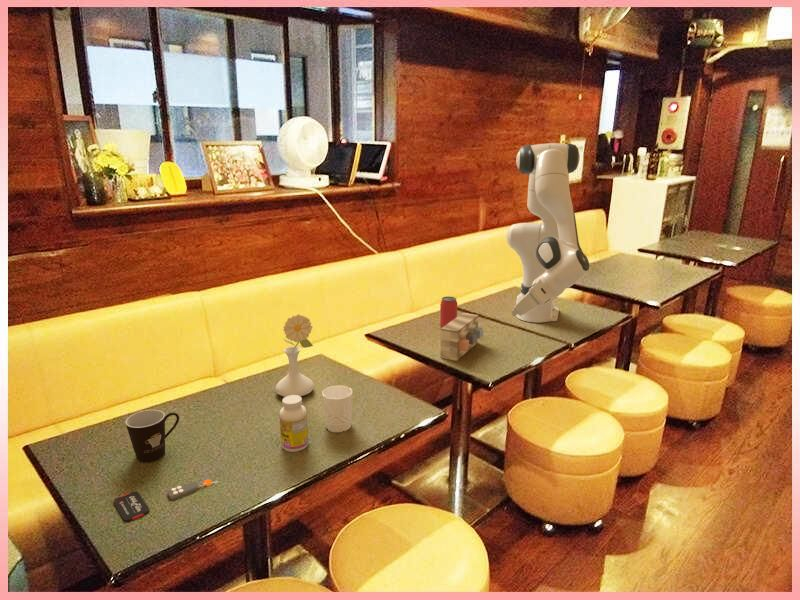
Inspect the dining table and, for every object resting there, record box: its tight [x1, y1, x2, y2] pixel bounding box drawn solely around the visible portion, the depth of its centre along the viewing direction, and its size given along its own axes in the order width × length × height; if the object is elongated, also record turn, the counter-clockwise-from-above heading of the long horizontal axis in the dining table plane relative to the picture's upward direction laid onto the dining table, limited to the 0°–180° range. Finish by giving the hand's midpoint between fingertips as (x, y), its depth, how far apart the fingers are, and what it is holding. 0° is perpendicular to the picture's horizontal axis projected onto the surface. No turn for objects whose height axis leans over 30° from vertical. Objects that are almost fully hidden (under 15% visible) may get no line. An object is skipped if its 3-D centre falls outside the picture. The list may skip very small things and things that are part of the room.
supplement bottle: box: [278, 395, 309, 453], centre depth 138 cm, size 7×7×13 cm
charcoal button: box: [466, 333, 476, 345], centre depth 195 cm, size 3×3×3 cm
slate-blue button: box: [473, 326, 484, 339], centre depth 200 cm, size 3×3×3 cm
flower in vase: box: [274, 313, 315, 398], centre depth 163 cm, size 13×11×25 cm
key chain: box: [166, 479, 219, 501], centre depth 124 cm, size 13×4×2 cm, turn 125°
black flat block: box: [113, 491, 151, 523], centre depth 117 cm, size 10×1×5 cm
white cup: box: [321, 384, 353, 433], centre depth 147 cm, size 8×8×10 cm
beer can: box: [439, 296, 458, 329], centre depth 218 cm, size 7×7×12 cm
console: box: [440, 312, 479, 362], centre depth 197 cm, size 19×6×11 cm, turn 151°
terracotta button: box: [458, 339, 469, 351], centre depth 190 cm, size 3×3×3 cm
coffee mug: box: [124, 409, 180, 464], centre depth 135 cm, size 12×9×10 cm
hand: (515, 312), depth 191 cm, fingers open, 3 cm apart
